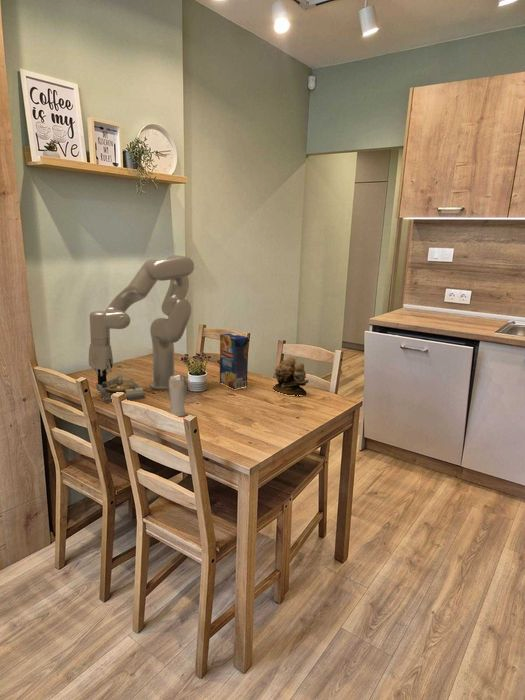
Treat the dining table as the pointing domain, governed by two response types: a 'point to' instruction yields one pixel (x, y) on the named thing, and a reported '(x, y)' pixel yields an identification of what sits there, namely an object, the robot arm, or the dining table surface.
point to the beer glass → (177, 394)
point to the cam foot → (117, 384)
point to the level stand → (130, 393)
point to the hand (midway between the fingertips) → (102, 383)
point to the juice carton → (233, 360)
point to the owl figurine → (290, 377)
